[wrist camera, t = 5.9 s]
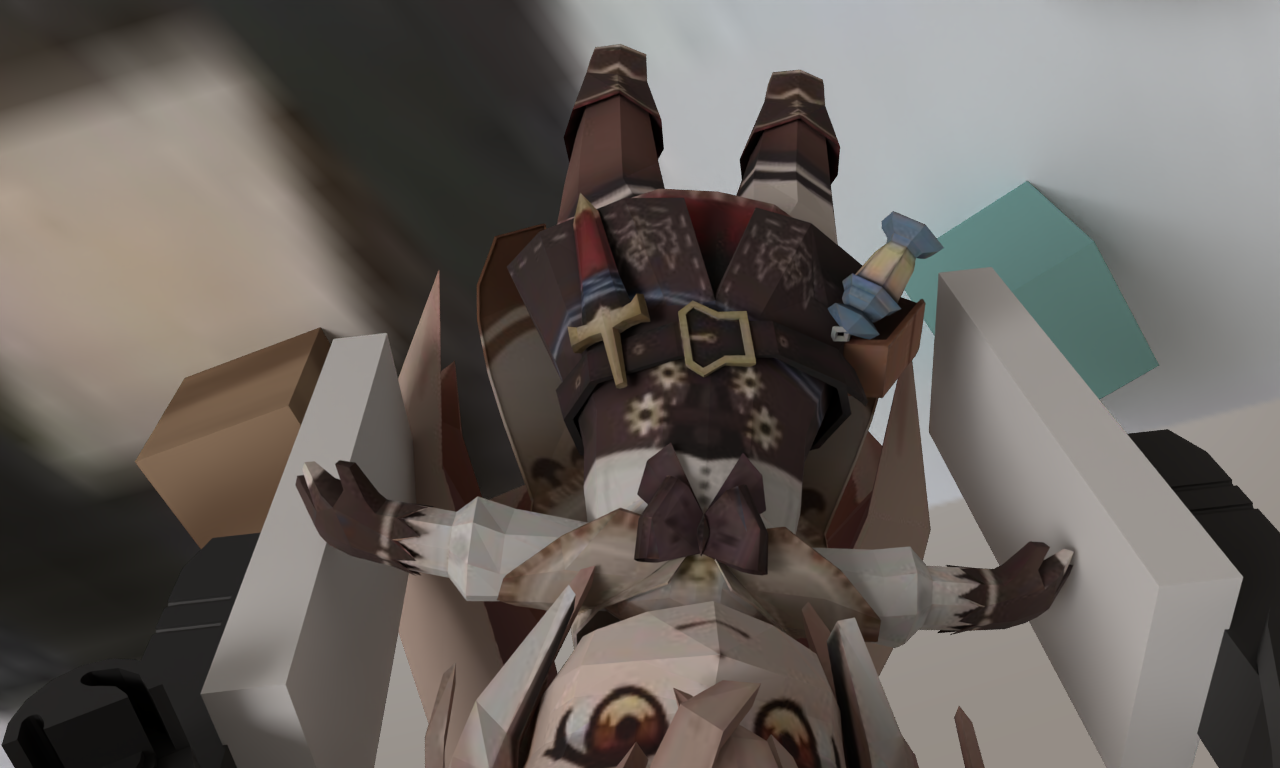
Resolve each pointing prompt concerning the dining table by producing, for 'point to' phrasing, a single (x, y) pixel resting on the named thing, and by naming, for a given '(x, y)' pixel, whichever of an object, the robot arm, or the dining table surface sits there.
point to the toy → (677, 472)
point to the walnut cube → (233, 437)
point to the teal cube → (1046, 284)
